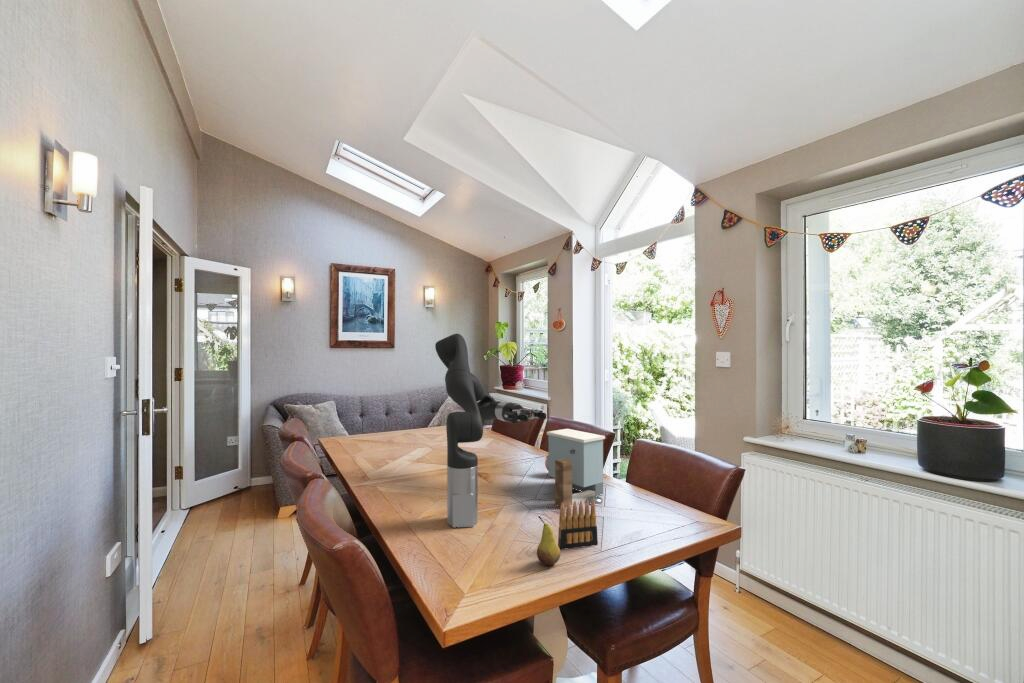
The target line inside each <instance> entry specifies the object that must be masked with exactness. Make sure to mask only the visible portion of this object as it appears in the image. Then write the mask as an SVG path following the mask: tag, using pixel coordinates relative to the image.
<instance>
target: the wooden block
mask: <svg viewBox="0 0 1024 683" xmlns="http://www.w3.org/2000/svg"><path fill="white" fill-rule="evenodd" d="M591 496H595V491H592V490H586V491H582V492H580V491H577V492H576V493H573V489H572V461H571V460H567V459H559V460H555V478H554V506H556V505H558V506H560V507H561V503H562V502H563V504H564V509H566V508H565V507H567V504H568V502H569V503H570V505H573V504H574V501H576V503H580V501H582V502H583V501H586V500H588V497H591ZM583 503H584V502H583ZM558 506H557V507H558ZM560 507H559V508H560Z"/></svg>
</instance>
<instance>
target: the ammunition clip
mask: <svg viewBox="0 0 1024 683" xmlns="http://www.w3.org/2000/svg"><path fill="white" fill-rule="evenodd" d="M583 503H585V505H584V504H583ZM583 503H582V501H580V504H576V501H574V504H573V506H570V503H569V502H568V504H567V508H564V504H563V502H562V503H561V507H559V509H560V510H559V519H558V521H559V522H558V524H559V527H558V535H557V536H558V538H557V545H558V546H559V549H560V550H566V549H565V548H568V549H574V547H577V548H583V547H582V546H586V547H591V545H594V546H598V545H599V540H598V539H599V538H598V525H597V514H596V512H597V511H596V505H595V502H594V500H592V503H591V504H589V503H588V500H586V502H583ZM571 507H572V508H571ZM565 510H566V511H565Z"/></svg>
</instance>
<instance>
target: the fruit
mask: <svg viewBox="0 0 1024 683" xmlns="http://www.w3.org/2000/svg"><path fill="white" fill-rule="evenodd" d="M537 518H539V519H540V520H541V522H542V523H543V527H542V531H541V532H542V533H541V539H540V542H539V544H538V546H537V549H536V556H537V559H538V561H539V563H540V564H543V565H545V566H553V565H555V564H557V562H558V561H559V560H560V558H561V549H560V548H559V546H558V542H557V541H556V537H555V534H554V530H553V528H552V527H551V525H549V524H548V523H546V522H545V521H544V520H543V519H542V517H541V516H540V515H538V517H537Z"/></svg>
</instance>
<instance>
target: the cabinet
mask: <svg viewBox="0 0 1024 683" xmlns="http://www.w3.org/2000/svg"><path fill="white" fill-rule="evenodd" d="M546 435H547V436H548V455H549V471H548V477H552V478H554V479H555V460H559V459H567V460H571V461H572V488H574V489H577V490H581V491H586V490H592V491H595V496H597V495H600V494H603V495H604V440H605V439H606V436H605V435H602V434H597V433H591V432H587V431H581V430H577V429H571V428H563V429H556V430H550V431H546ZM574 489H573V490H574ZM577 490H576V491H577ZM600 496H601V495H600ZM597 497H598V496H597Z"/></svg>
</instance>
